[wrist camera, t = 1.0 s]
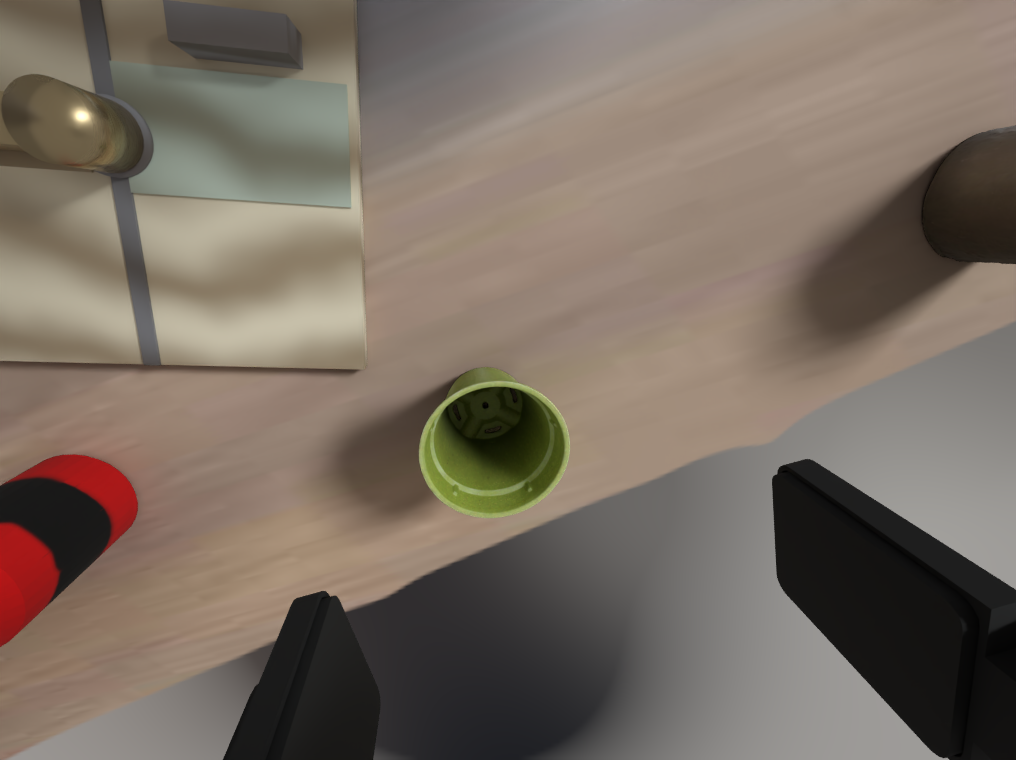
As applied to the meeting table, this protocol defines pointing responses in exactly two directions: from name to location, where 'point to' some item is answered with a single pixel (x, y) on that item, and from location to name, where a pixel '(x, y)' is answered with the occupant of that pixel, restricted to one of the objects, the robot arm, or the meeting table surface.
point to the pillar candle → (975, 200)
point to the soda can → (56, 531)
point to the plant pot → (493, 446)
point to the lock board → (191, 188)
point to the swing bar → (68, 125)
